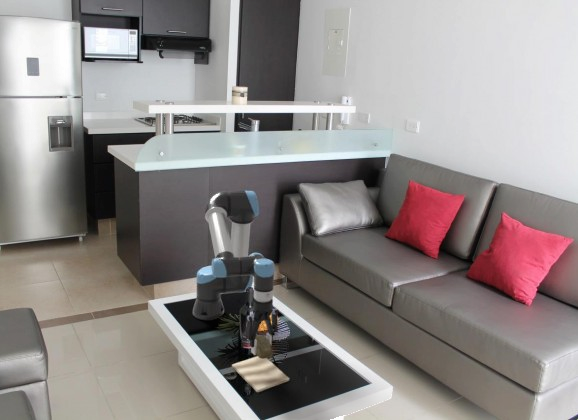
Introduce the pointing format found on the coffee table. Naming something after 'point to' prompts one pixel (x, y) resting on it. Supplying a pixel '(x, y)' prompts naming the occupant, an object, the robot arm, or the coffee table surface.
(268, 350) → the stone block
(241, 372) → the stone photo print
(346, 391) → the coffee table surface
